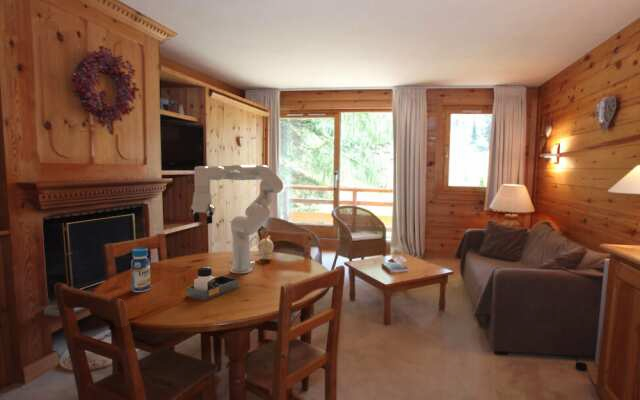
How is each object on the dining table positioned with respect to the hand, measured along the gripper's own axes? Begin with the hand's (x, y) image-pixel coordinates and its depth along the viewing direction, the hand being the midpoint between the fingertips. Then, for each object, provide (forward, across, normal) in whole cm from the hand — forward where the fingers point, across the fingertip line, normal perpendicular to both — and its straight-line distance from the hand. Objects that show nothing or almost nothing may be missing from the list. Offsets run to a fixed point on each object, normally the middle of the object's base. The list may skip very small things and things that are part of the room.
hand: (203, 222), depth 192 cm
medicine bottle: (+30, +19, -16) cm, 39 cm away
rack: (+30, +19, -11) cm, 37 cm away
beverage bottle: (+31, -12, -28) cm, 43 cm away
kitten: (+31, +1, +50) cm, 59 cm away
